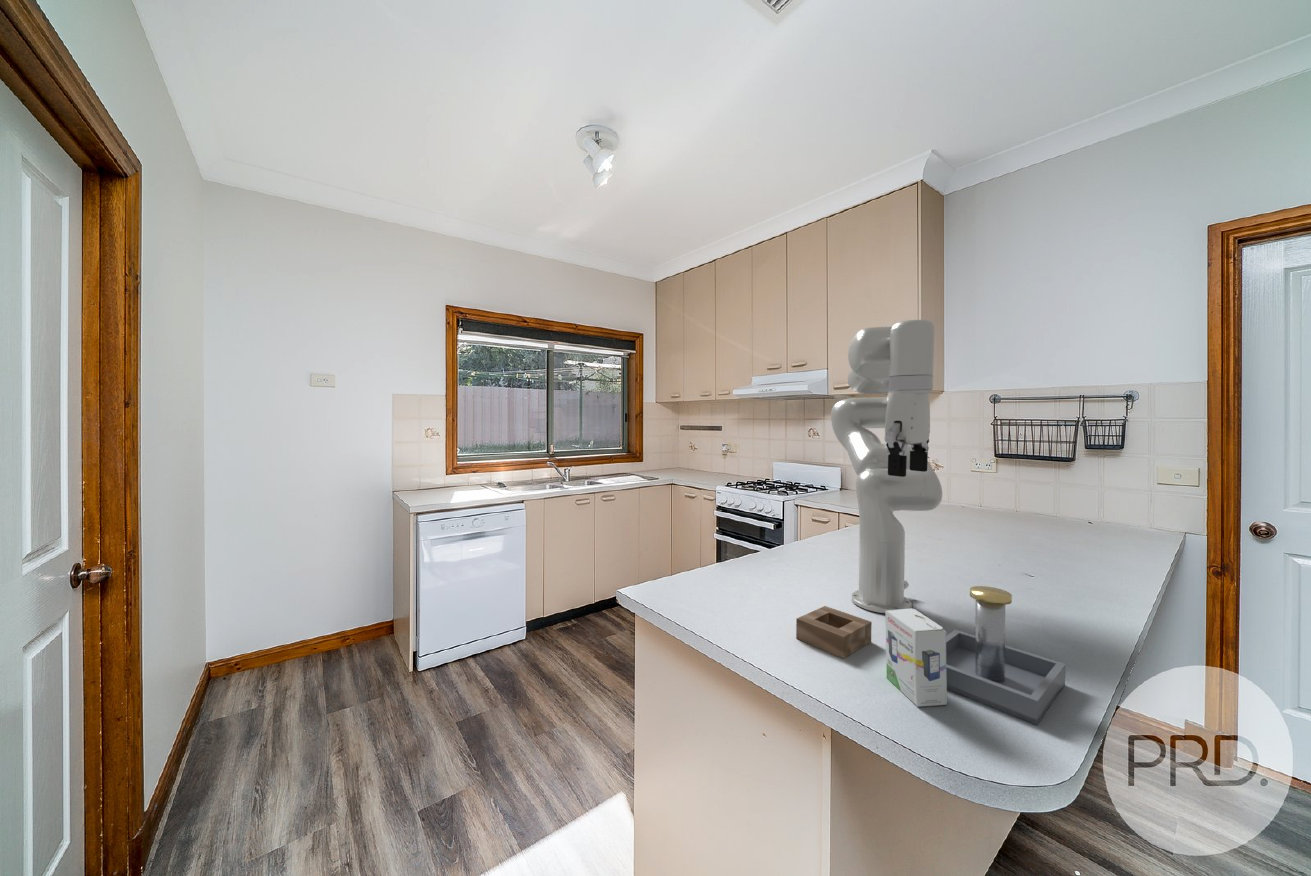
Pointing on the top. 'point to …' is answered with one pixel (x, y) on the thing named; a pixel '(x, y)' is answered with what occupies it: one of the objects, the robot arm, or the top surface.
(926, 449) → the robot arm
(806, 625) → the block
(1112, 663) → the top surface
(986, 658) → the steel pin
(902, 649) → the ink box
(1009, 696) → the tray
